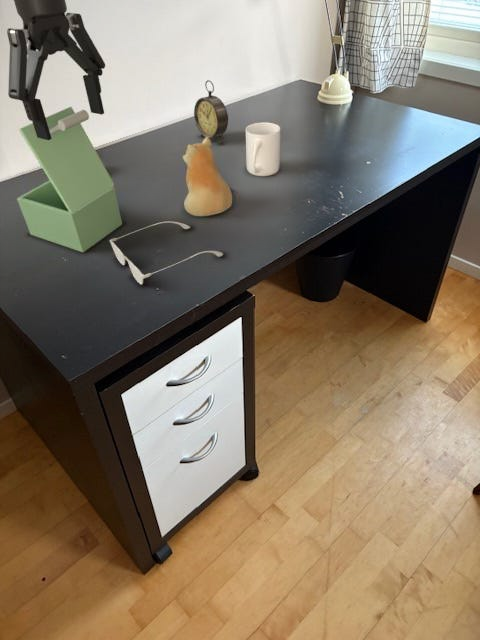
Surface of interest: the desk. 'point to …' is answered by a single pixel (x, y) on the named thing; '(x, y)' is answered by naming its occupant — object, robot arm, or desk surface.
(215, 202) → the figurine
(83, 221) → the green rectangular box
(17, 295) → the desk surface
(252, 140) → the mug
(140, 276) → the eyeglasses
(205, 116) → the alarm clock
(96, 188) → the green box lid
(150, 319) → the desk surface
